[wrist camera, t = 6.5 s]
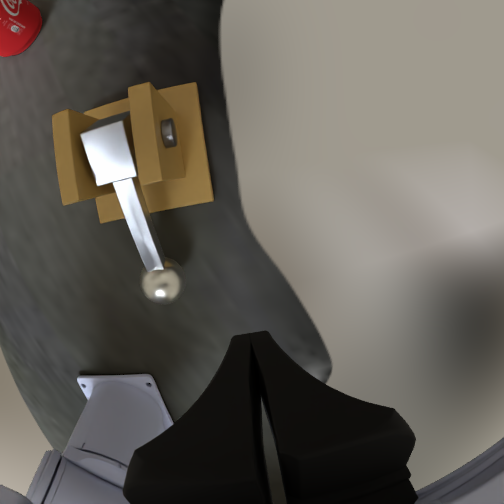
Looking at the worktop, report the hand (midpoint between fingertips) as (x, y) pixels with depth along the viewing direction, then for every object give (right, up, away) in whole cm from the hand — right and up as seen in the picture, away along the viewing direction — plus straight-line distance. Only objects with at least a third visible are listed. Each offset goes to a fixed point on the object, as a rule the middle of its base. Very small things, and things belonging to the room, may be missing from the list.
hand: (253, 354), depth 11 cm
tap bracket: (-7, +10, +7) cm, 15 cm away
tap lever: (-6, +6, +6) cm, 11 cm away
